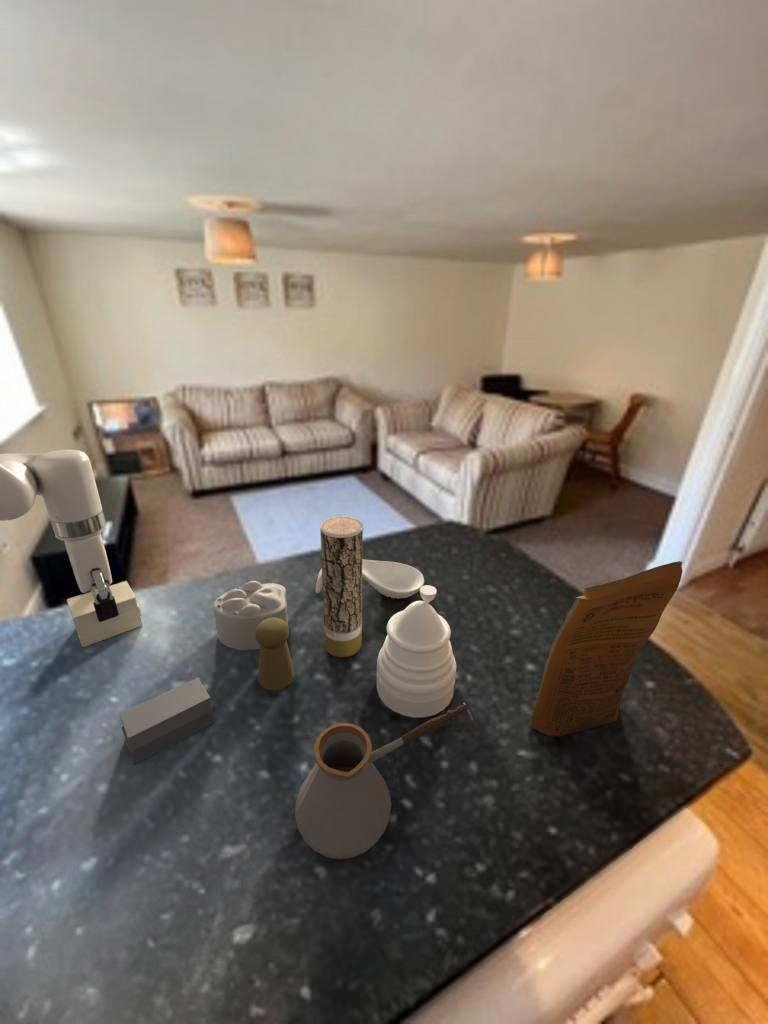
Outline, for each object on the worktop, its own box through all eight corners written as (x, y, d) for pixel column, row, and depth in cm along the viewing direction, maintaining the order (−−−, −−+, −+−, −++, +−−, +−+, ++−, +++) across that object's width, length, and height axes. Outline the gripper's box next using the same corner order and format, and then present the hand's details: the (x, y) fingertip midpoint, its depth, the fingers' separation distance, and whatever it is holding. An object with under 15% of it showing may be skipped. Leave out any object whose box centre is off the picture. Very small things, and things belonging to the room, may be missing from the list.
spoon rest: (420, 576, 104) (422, 549, 101) (426, 607, 94) (428, 578, 91) (319, 575, 104) (318, 548, 101) (312, 606, 93) (311, 577, 90)
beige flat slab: (75, 628, 78) (72, 618, 77) (69, 608, 83) (66, 599, 82) (138, 606, 84) (135, 597, 83) (128, 589, 89) (126, 580, 88)
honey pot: (403, 647, 83) (408, 564, 75) (466, 679, 76) (479, 591, 68) (360, 691, 73) (361, 600, 65) (428, 732, 66) (438, 636, 59)
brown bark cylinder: (339, 665, 78) (336, 539, 68) (317, 644, 83) (312, 523, 72) (369, 648, 82) (371, 526, 72) (346, 629, 87) (345, 512, 76)
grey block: (134, 764, 60) (126, 739, 58) (125, 739, 64) (117, 714, 62) (214, 722, 67) (210, 697, 65) (202, 700, 70) (198, 677, 68)
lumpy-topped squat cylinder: (289, 645, 82) (286, 606, 79) (214, 654, 80) (208, 615, 76) (287, 610, 91) (285, 574, 88) (221, 617, 89) (215, 581, 85)
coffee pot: (302, 886, 48) (294, 798, 42) (291, 786, 58) (284, 702, 52) (480, 831, 54) (497, 746, 48) (443, 748, 64) (452, 669, 58)
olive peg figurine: (282, 657, 79) (277, 607, 75) (301, 676, 75) (298, 624, 71) (251, 675, 75) (244, 623, 71) (270, 696, 72) (264, 642, 67)
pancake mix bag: (646, 725, 68) (707, 570, 57) (538, 755, 63) (580, 591, 52) (614, 692, 74) (663, 545, 62) (513, 716, 69) (545, 561, 57)
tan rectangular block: (82, 647, 80) (75, 628, 78) (75, 627, 85) (69, 608, 83) (143, 625, 86) (139, 606, 84) (134, 607, 91) (130, 589, 89)
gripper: (46, 511, 80) (72, 590, 87) (60, 549, 68) (88, 638, 75) (95, 501, 84) (115, 577, 92) (115, 535, 72) (137, 620, 80)
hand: (103, 605), depth 83 cm, fingers open, 9 cm apart
